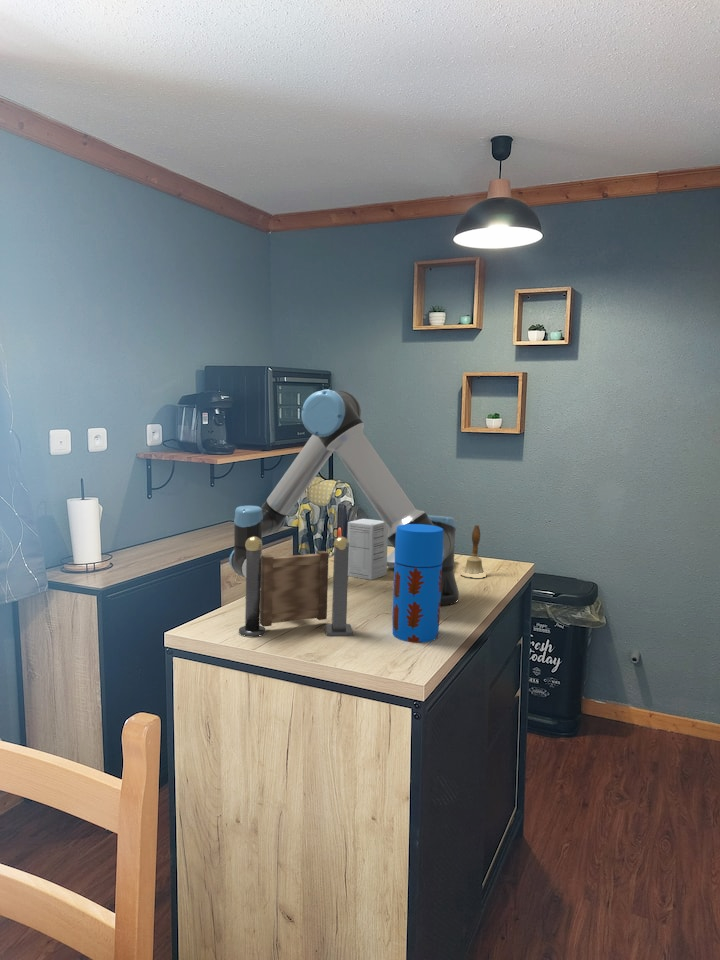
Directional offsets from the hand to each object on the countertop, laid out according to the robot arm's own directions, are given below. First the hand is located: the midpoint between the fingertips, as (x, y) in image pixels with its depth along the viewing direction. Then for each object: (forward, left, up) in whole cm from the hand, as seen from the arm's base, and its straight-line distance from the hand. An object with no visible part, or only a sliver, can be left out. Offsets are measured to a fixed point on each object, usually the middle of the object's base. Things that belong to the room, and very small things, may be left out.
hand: (298, 593), depth 168 cm
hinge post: (+8, +8, -8) cm, 14 cm away
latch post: (-10, +1, -8) cm, 13 cm away
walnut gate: (0, +2, -6) cm, 7 cm away
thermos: (-28, -2, -8) cm, 29 cm away
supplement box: (-6, -54, -8) cm, 55 cm away
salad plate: (-20, -72, -8) cm, 75 cm away
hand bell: (-38, -65, -8) cm, 75 cm away
